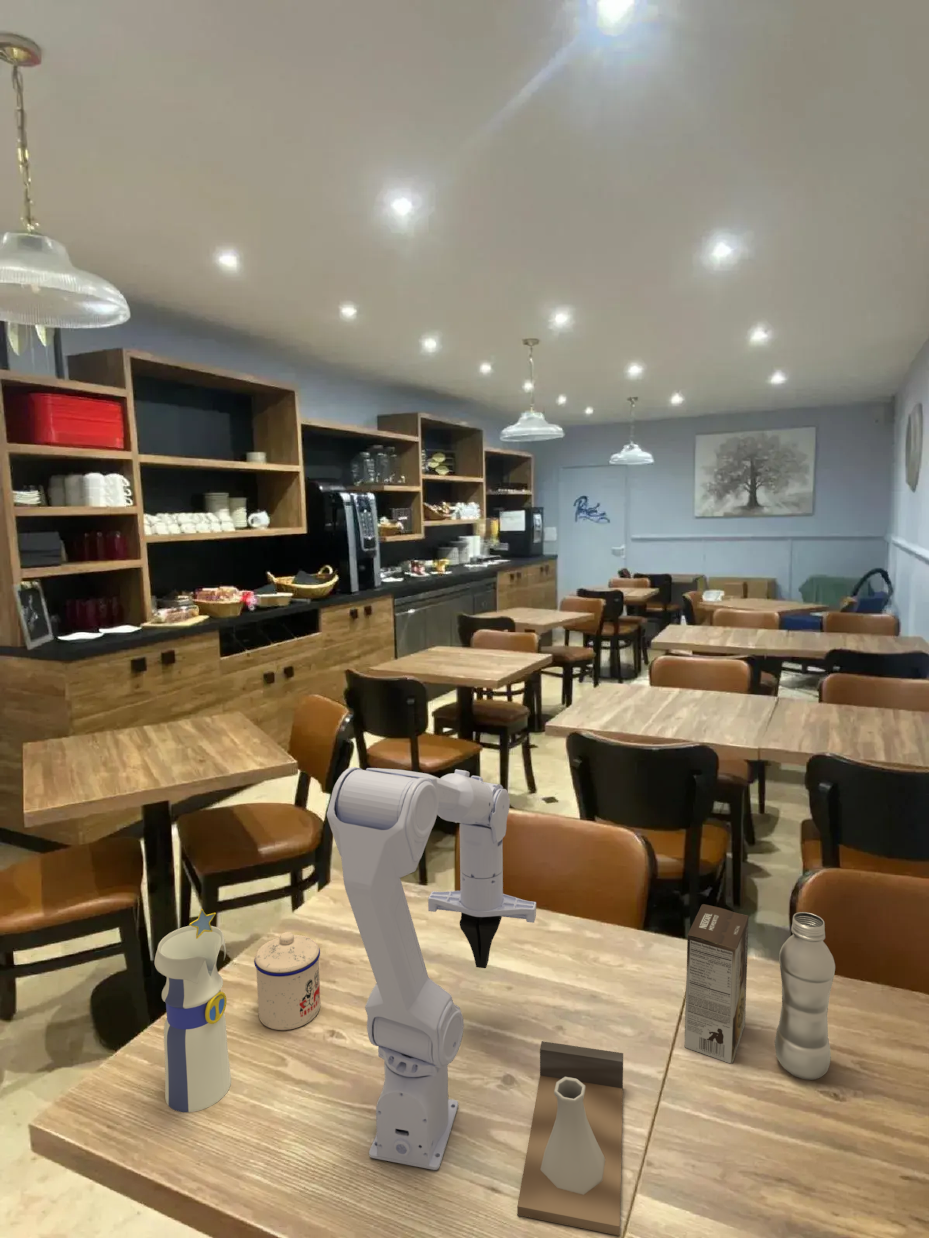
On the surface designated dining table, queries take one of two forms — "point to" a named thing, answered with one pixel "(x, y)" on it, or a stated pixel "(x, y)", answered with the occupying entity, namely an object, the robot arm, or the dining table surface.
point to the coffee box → (716, 982)
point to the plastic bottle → (805, 999)
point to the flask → (572, 1143)
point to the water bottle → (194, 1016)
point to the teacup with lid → (288, 981)
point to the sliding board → (605, 1121)
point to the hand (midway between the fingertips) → (482, 963)
